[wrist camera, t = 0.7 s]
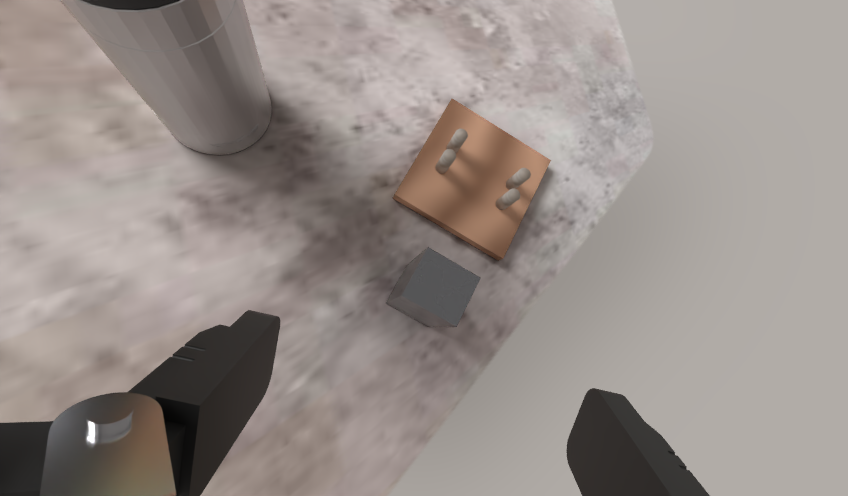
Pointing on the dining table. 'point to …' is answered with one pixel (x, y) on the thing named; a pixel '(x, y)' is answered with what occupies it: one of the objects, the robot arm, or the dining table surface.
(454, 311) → the block
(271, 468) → the dining table surface
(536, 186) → the wooden peg holder
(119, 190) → the dining table surface
